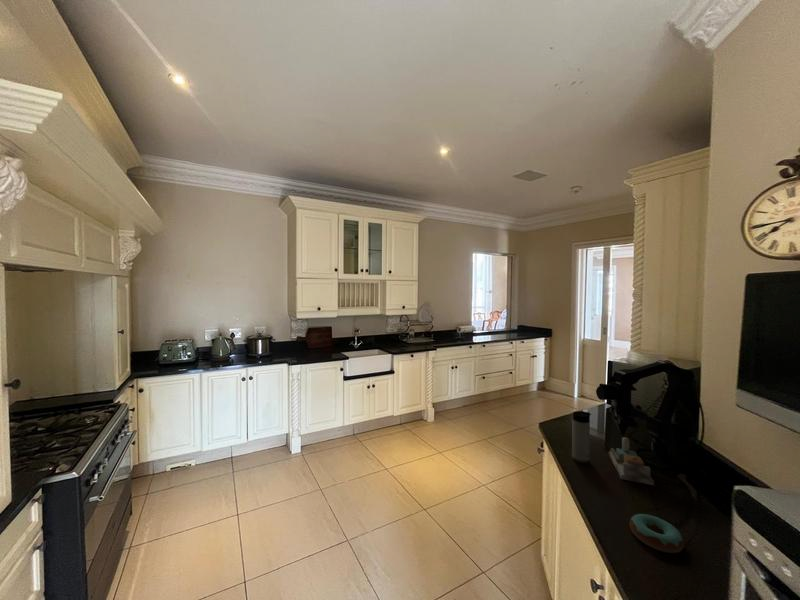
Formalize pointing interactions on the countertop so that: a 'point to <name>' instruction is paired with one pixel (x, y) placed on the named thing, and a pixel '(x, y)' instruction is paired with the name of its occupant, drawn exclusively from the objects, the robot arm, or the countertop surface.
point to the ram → (624, 449)
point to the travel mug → (580, 436)
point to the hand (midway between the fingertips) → (622, 435)
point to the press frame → (631, 470)
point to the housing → (633, 460)
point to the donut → (656, 533)
